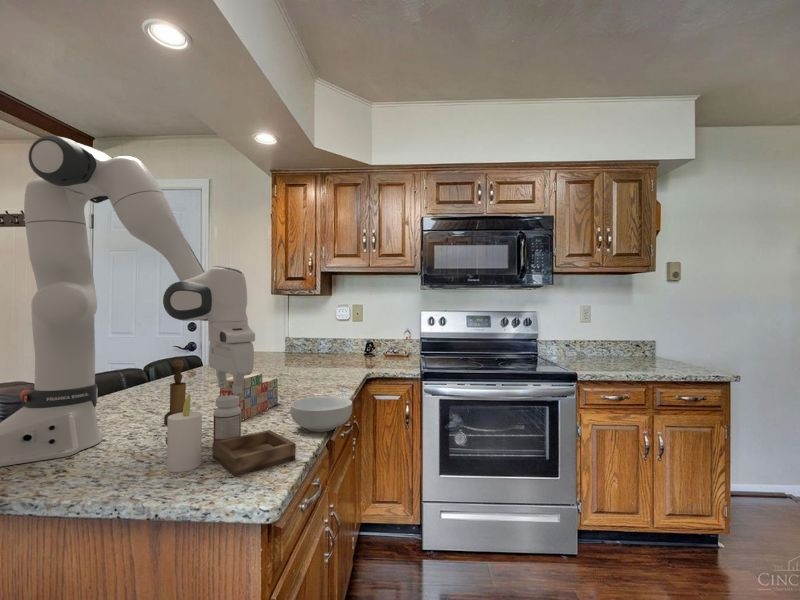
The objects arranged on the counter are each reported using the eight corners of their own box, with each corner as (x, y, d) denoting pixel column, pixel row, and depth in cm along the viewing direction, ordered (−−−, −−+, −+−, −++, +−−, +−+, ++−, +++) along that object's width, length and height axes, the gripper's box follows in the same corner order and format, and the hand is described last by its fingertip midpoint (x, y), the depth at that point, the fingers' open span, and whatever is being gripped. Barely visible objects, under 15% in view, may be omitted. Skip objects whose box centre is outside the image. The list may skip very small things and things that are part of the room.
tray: (234, 476, 77) (234, 458, 77) (212, 458, 87) (212, 442, 87) (295, 459, 86) (295, 443, 86) (269, 444, 96) (269, 429, 96)
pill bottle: (220, 440, 99) (220, 394, 99) (245, 440, 99) (245, 394, 99) (208, 449, 93) (208, 400, 93) (234, 449, 93) (234, 400, 93)
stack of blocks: (261, 404, 137) (262, 368, 137) (278, 405, 135) (278, 368, 135) (219, 421, 116) (219, 379, 116) (237, 422, 114) (238, 380, 115)
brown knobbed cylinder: (194, 421, 115) (195, 359, 116) (171, 427, 110) (172, 361, 110) (182, 417, 119) (182, 357, 119) (159, 423, 113) (160, 360, 114)
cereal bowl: (326, 441, 98) (326, 413, 98) (276, 431, 106) (277, 405, 106) (364, 424, 113) (364, 399, 113) (318, 416, 121) (318, 393, 121)
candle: (170, 462, 85) (171, 391, 85) (204, 458, 87) (204, 390, 87) (161, 473, 79) (162, 398, 79) (197, 470, 81) (198, 396, 81)
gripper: (201, 332, 102) (202, 386, 102) (230, 336, 87) (231, 399, 87) (226, 330, 106) (228, 382, 106) (258, 334, 91) (259, 394, 91)
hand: (229, 390), depth 96 cm, fingers open, 8 cm apart
